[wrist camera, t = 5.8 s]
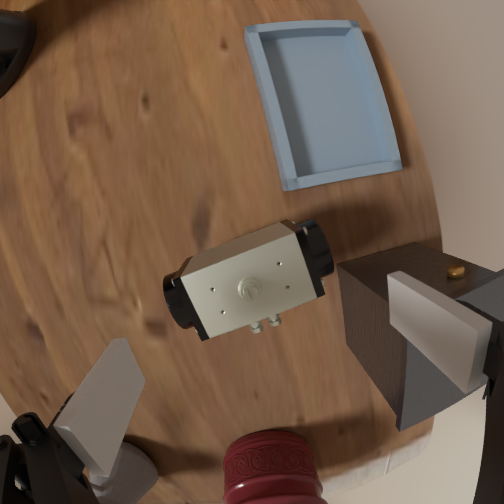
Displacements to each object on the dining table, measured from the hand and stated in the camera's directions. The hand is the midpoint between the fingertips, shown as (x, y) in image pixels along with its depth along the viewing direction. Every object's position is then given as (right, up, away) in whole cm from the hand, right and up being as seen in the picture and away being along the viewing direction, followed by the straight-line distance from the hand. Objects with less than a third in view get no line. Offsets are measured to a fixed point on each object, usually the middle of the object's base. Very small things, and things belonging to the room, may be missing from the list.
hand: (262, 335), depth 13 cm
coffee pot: (-21, -24, +21) cm, 38 cm away
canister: (+2, -26, +22) cm, 34 cm away
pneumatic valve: (-1, +3, +16) cm, 17 cm away
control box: (+14, -1, +18) cm, 23 cm away
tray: (+7, +19, +13) cm, 24 cm away
